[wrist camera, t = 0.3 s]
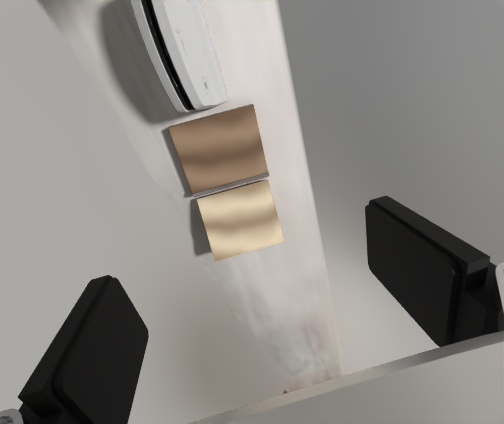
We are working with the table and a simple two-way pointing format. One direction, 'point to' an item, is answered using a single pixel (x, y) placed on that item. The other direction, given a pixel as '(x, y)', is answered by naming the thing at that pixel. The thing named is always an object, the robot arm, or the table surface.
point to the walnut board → (220, 150)
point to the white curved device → (182, 52)
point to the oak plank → (240, 220)
